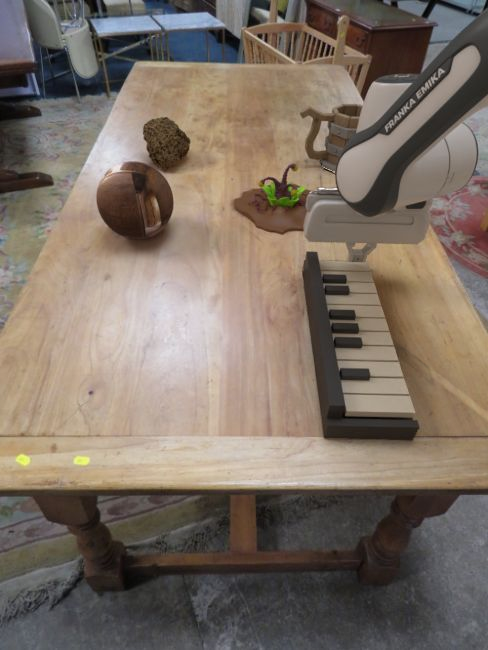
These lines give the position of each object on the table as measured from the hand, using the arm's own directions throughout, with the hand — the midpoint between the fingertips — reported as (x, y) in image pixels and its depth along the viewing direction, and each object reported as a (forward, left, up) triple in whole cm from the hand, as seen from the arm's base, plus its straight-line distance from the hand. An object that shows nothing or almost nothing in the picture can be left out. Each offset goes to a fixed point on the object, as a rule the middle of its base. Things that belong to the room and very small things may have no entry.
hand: (356, 260), depth 78 cm
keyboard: (-10, +11, -6) cm, 16 cm away
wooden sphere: (+38, +24, -6) cm, 45 cm away
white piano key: (-23, +20, -2) cm, 30 cm away
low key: (+1, +1, -2) cm, 3 cm away
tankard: (+39, -33, -6) cm, 51 cm away
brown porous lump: (+66, +2, -6) cm, 66 cm away
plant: (+27, -6, -6) cm, 28 cm away
